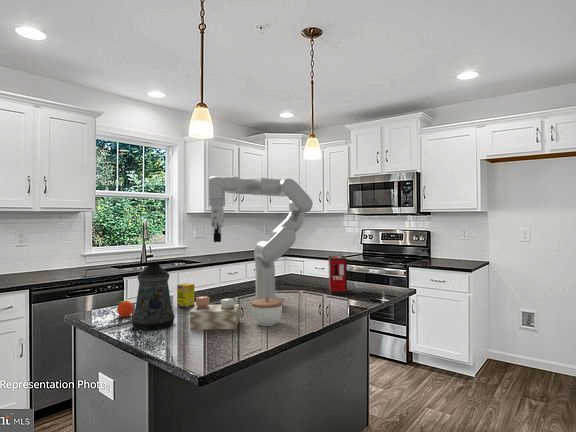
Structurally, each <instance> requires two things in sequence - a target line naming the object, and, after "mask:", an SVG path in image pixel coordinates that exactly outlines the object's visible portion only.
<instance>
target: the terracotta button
mask: <svg viewBox="0 0 576 432" xmlns="http://www.w3.org/2000/svg"><path fill="white" fill-rule="evenodd" d="M209 305H210V297H209V296H206V295H205V296H197V297H196V298H195V306H198V310H205V309H207V306H209Z"/></svg>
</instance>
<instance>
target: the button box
mask: <svg viewBox="0 0 576 432" xmlns="http://www.w3.org/2000/svg"><path fill="white" fill-rule="evenodd" d="M239 322H240V304H239V303H237V304H236V303H234V308H232V309H223V308H221V304H209V306H207V309H205V310H198V306H196V305H194V306H193V308H192V309H190V311H189V330H190V331H191V330H193V331H194V330H195V331H199V330H200V331H201V330H236V329H237V328H238V325H239Z"/></svg>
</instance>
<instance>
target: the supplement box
mask: <svg viewBox="0 0 576 432" xmlns="http://www.w3.org/2000/svg"><path fill="white" fill-rule="evenodd" d="M176 286H177V287H176V289H177V291H176V292H177V293H176V295H177V296H176V297H177V298H176V299H177V300H176V301H177V304H176V305H177V308H183V309H189V308H192V307H195V284H194V283H186V282H185V283H180V284H176Z"/></svg>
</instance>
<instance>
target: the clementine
mask: <svg viewBox="0 0 576 432" xmlns="http://www.w3.org/2000/svg"><path fill="white" fill-rule="evenodd" d="M117 304H118V305H117ZM116 305H117V307H116V311H117V314H118V315H119V316H121V317H123V318H126V317H127V318H128V317H129V316H131V315H132V314H133V313H134V311H135V308H134V304H133V303H132V302H131V301H130V300H123V301H119V302H117V303H116Z"/></svg>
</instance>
